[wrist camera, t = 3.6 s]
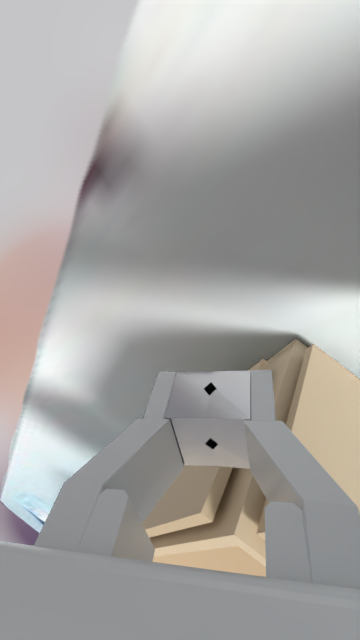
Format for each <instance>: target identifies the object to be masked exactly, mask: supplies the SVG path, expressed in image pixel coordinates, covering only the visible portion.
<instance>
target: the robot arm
mask: <svg viewBox="0 0 360 640" xmlns="http://www.w3.org/2000/svg"><path fill="white" fill-rule="evenodd" d="M184 465H194V466H221V467H234V468H246V469H250V471H251V473H252V475H253V476H254V478H255V480H256V482H257V483H258V485H259V487H260V488H261V490H262V492H263V494H264V495H265V497H266V499H267V501H268V502H269V504H268V505H267V506H266V507H265V551H266V577H263V576H256V575H248V574H241V573H233V572H226V571H218V570H211V569H203V568H196V567H188V566H181V565H173V564H166V563H158V562H153V557H154V552H155V549H154V547H153V545H152V543H151V541H150V539H149V537H148V535H147V533H146V531H145V529H144V527H143V525H142V523H143V522H144V520H145V519H146V518H147V516H148V515H149V514H150V512H151V511H152V510H153V508H154V507H155V506H156V504H157V503H158V502H159V500H160V499H161V498H162V496H163V495H164V494H165V492H166V491H167V490H168V488H169V487H170V486H171V484H172V483H173V482H174V480H175V479H176V478H177V476H178V475H179V474H180V472H181V471H182V470H183V468H184ZM0 640H360V514H359V510H358V507H357V505H356V504H355V503H354V502H353V501H352V500H351V499H350V497H349V496H348V495H347V494H346V493H345V492H344V491H343V489H342V488H341V487H340V486H339V485H338V484H337V483H336V482H335V480H334V479H333V478H332V477H331V476H330V475H329V474H328V472H327V471H326V470H325V469H324V468H323V467H322V466H321V464H320V463H319V462H318V461H317V460H316V459H315V458H314V457H313V455H312V454H311V453H310V452H309V451H308V450H307V449H306V447H305V446H304V445H303V444H302V443H301V442H300V441H299V439H298V438H297V437H296V436H295V435H294V434H293V433H292V432H291V430H290V429H289V428H288V427H287V426H286V425H285V424H284V422H283V421H276V415H275V403H274V390H273V377H272V371H271V369H270V370H246V371H178V372H160V373H159V374H158V375H157V378H156V381H155V384H154V387H153V390H152V393H151V396H150V399H149V402H148V405H147V408H146V411H145V414H144V417H143V418H138V419H136V420H135V421H134V422H133V423H132V424H131V425H130V426H128V427H127V428H126V429H125V430H124V431H123V432H122V433H121V434H119V435H118V436H117V437H116V438H115V439H114V440H113V441H111V442H110V443H109V444H108V445H107V446H106V447H105V448H103V449H102V450H101V451H100V452H99V453H98V454H97V455H96V456H94V457H93V458H92V459H91V460H90V461H89V462H88V463H86V464H85V465H84V466H83V467H82V468H81V469H80V470H78V471H77V472H76V473H75V474H74V475H73V476H72V477H70V478H69V479H68V480H67V481H66V482H65V483H64V484H63V486H62V488H61V490H60V492H59V494H58V496H57V499H56V501H55V503H54V505H53V507H52V509H51V511H50V513H49V515H48V517H47V519H46V522H45V524H44V526H43V528H42V530H41V532H40V534H39V536H38V538H37V541H36V542H35V545H34V546H30V545H23V544H15V543H8V542H0Z"/></svg>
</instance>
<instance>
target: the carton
mask: <svg viewBox="0 0 360 640" xmlns="http://www.w3.org/2000/svg"><path fill="white" fill-rule="evenodd" d="M270 369H271V371H272V377H273V390H274V403H275V415H276V421H283V422H284V424H285V425H286V426H287V427H288V428H289V429H290V430H291V432H292V433H293V434H294V435H295V436H296V437H297V438H298V439H299V441H300V442H301V443H302V444H303V445H304V446H305V447H306V449H307V450H308V451H309V452H310V453H311V454H312V455H313V457H314V458H315V459H316V460H317V461H318V462H319V463H320V464H321V466H322V467H323V468H324V469H325V470H326V471H327V472H328V474H329V475H330V476H331V477H332V478H333V479H334V480H335V482H336V483H337V484H338V485H339V486H340V487H341V488H342V489H343V491H344V492H345V493H346V494H347V495H348V496H349V497H350V499H351V500H352V501H353V502H354V503H355V504H356V505H357V507H358V510H359V514H360V379H359V378H358V377H356V376H355V375H354V374H352V373H351V372H350V371H349V370H347V369H346V368H345V367H343V366H342V365H341V364H339V363H338V362H337V361H335V360H334V359H333V358H331V357H330V356H329V355H327V354H326V353H325V352H323V351H322V350H321V349H319V348H318V347H317V346H315V345H314V344H312V345H311V346H310V347H307V346H306V345H305V344H303V343H302V342H301V341H299V340H298V339H297V338H296V339H294V340H293V341H292V342H291V343H289V344H288V345H287V346H285V347H284V348H283V349H282V350H280V351H279V352H278V353H276V354H275V355H274V356H273V357H271V358H270V359H269V360H267V361H266V360H264V359H262V360H261V361H259V362H258V363H257V364H256V365H254V366H253V367H252V368H251V369H249V370H270ZM268 504H269V502H268V501H267V499H266V497H265V495H264V494H263V492H262V490H261V488H260V487H259V485H258V483H257V482H256V480H255V478H254V476H253V475H252V473H251V471H250V469H246V468H234V467H221V466H194V465H184V468H183V470H182V471H181V472H180V474H179V475H178V476H177V478H176V479H175V480H174V482H173V483H172V484H171V486H170V487H169V488H168V490H167V491H166V492H165V494H164V495H163V496H162V498H161V499H160V500H159V502H158V503H157V504H156V506H155V507H154V508H153V510H152V511H151V512H150V514H149V515H148V516H147V518H146V519H145V520H144V522H143V523H142V525H143V527H144V529H145V531H146V533H147V535H148V537H149V539H150V541H151V543H152V545H153V547H154V549H155V552H154V557H153V562H158V563H166V564H173V565H181V566H188V567H196V568H203V569H211V570H218V571H226V572H233V573H241V574H248V575H256V576H263V577H266V551H265V507H266V506H267V505H268Z"/></svg>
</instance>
